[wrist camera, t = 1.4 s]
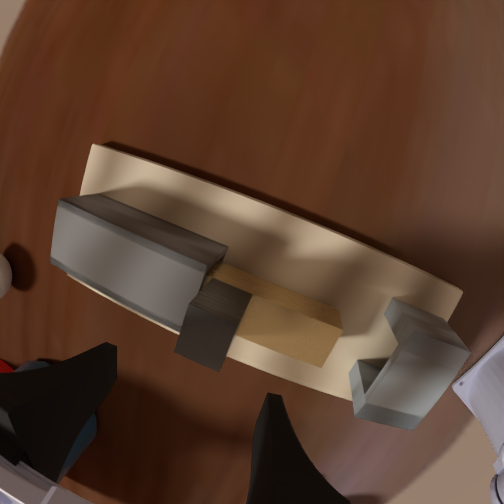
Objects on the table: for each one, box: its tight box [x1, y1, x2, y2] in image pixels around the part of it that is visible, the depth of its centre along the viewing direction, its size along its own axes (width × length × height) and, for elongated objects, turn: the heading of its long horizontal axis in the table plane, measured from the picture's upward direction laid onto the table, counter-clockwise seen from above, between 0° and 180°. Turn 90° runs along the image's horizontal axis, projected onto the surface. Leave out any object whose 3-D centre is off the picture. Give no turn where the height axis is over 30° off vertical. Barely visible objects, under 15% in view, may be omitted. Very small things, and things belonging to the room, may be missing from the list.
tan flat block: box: [174, 261, 343, 372], centre depth 18 cm, size 20×3×7 cm, turn 69°
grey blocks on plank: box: [50, 144, 471, 431], centre depth 20 cm, size 31×12×6 cm, turn 69°
